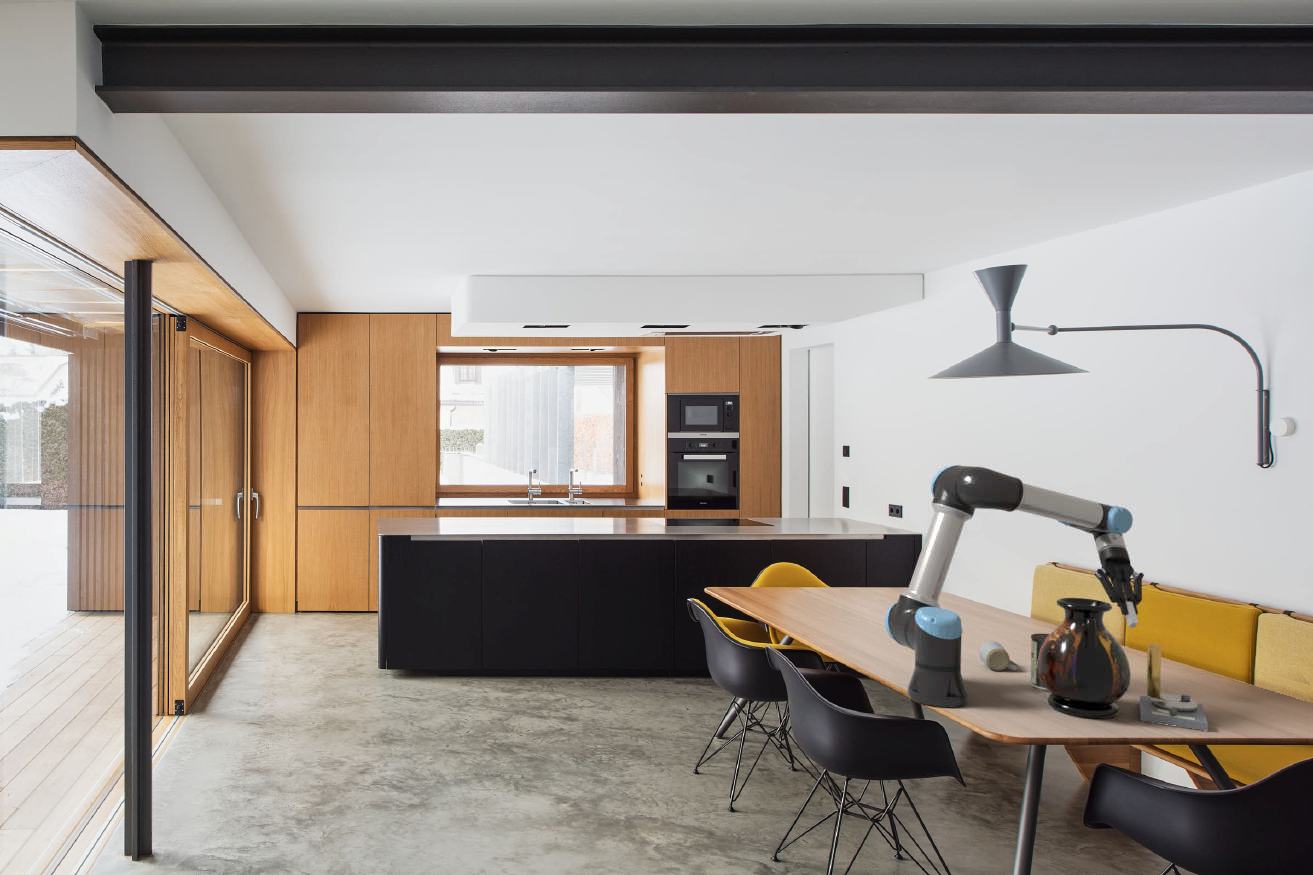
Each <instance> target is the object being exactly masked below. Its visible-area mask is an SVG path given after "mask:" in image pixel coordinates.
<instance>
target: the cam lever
mask: <svg viewBox="0 0 1313 875" xmlns="http://www.w3.org/2000/svg"><path fill="white" fill-rule="evenodd" d="M1146 651H1147V655H1146V656H1147V658H1146V661H1147V664H1146V665H1147V666H1146V667H1147V668H1146V673H1147V674H1146V696H1149V697H1151V703H1152V704H1154V705H1156V706H1158V707H1161V708H1165V709H1169V710H1170V709H1171V708H1174V709H1176V710H1177V711H1184V712H1191V711H1196V710H1197V703H1198V701H1197V700H1195V699H1192V698H1191V695H1189V694H1185V693H1184V694H1180V695H1179V694H1174V693H1173V694H1172V693H1161V683H1162V682H1161V679H1162V678H1161V677H1162V676H1161V674H1162V673H1161V672H1162V670H1161V669H1162V668H1161V666H1162V663H1161V662H1162V646H1161V645H1157V644H1151V643H1149V644H1147V650H1146Z"/></svg>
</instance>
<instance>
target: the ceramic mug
mask: <svg viewBox="0 0 1313 875" xmlns="http://www.w3.org/2000/svg"><path fill="white" fill-rule="evenodd" d="M979 659H980V660H981V662H983V663H984V665H985V666H987V667H988V668H989V669H990V670H993V671H994V672H995V671H996V672H1002V671H1004V670H1006V669H1007V668H1008V669H1010V670H1013V671H1016V672H1017V671H1018V669H1019V664H1017V662H1016V663H1015V662H1014V661H1012V660H1011V659H1010V654H1009V653H1008V652H1007V651H1006V649H1005V648H1004V646H1002V644H1000V643H999V642H998V641H993V640H991V641H990V640H989V641H985V642H984V643H983V644H982V645H981V646H980V648H979Z"/></svg>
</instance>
